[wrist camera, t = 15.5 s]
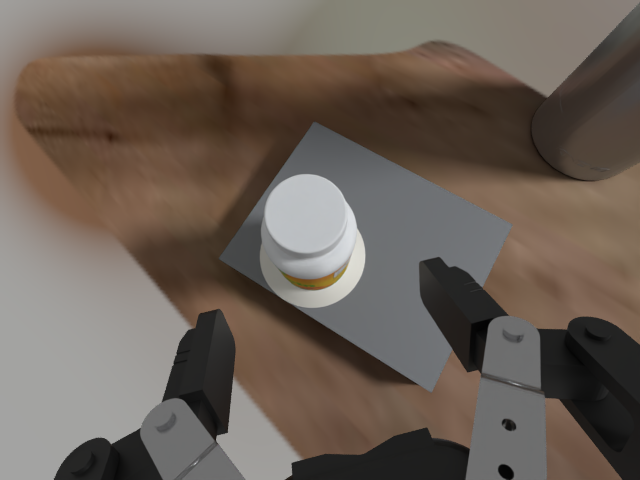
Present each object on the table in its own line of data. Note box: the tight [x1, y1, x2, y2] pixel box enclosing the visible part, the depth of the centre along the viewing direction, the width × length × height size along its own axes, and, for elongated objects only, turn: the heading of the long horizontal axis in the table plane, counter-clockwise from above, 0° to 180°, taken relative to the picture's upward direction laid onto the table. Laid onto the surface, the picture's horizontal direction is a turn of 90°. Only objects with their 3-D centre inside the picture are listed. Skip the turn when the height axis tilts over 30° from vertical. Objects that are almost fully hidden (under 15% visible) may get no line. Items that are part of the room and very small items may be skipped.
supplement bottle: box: [261, 174, 357, 291], centre depth 20 cm, size 5×5×10 cm
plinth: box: [219, 121, 512, 392], centre depth 26 cm, size 14×18×3 cm
